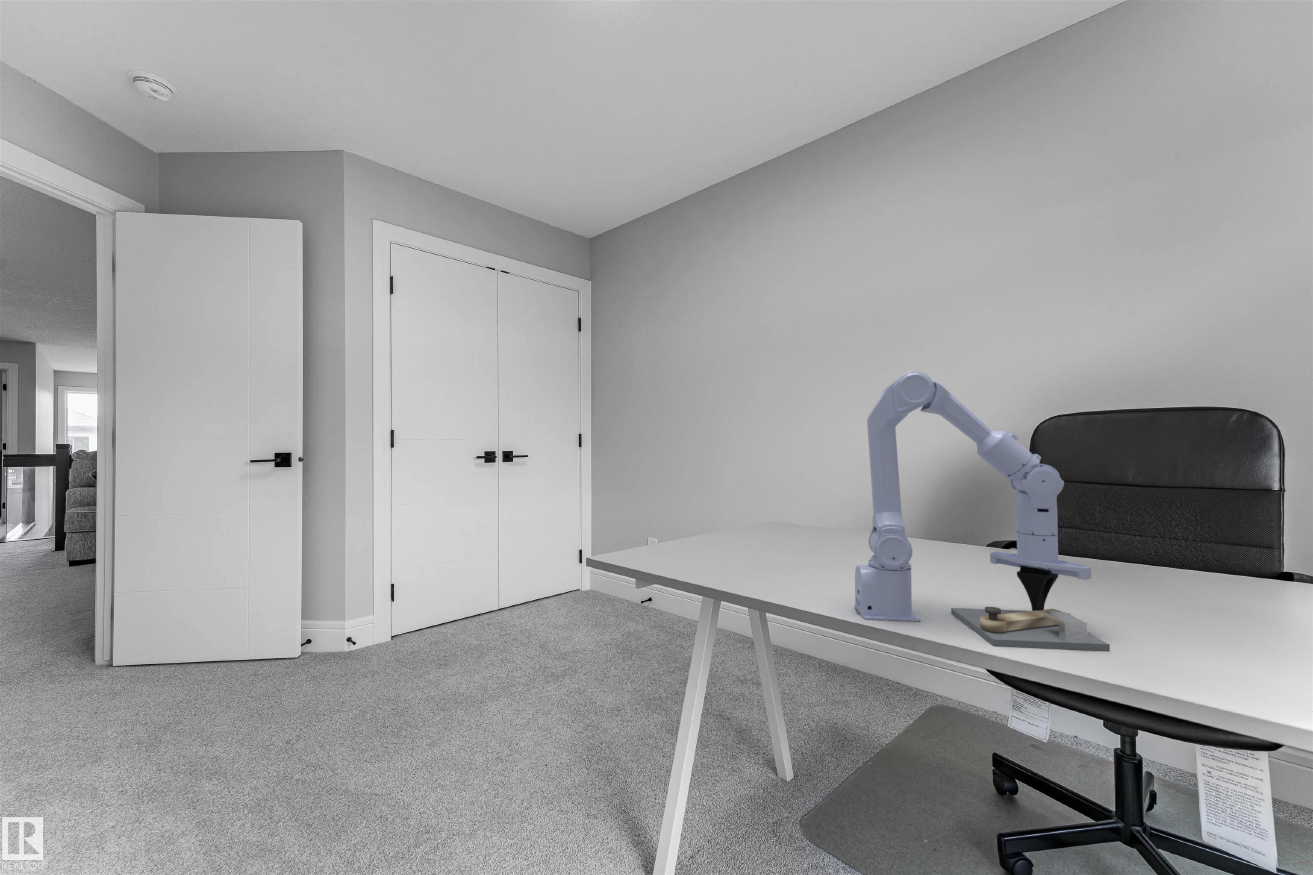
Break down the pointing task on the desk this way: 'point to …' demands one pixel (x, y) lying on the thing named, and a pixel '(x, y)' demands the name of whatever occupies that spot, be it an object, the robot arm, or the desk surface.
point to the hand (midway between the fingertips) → (1038, 613)
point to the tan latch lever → (1014, 620)
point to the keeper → (1069, 627)
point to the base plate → (1025, 633)
